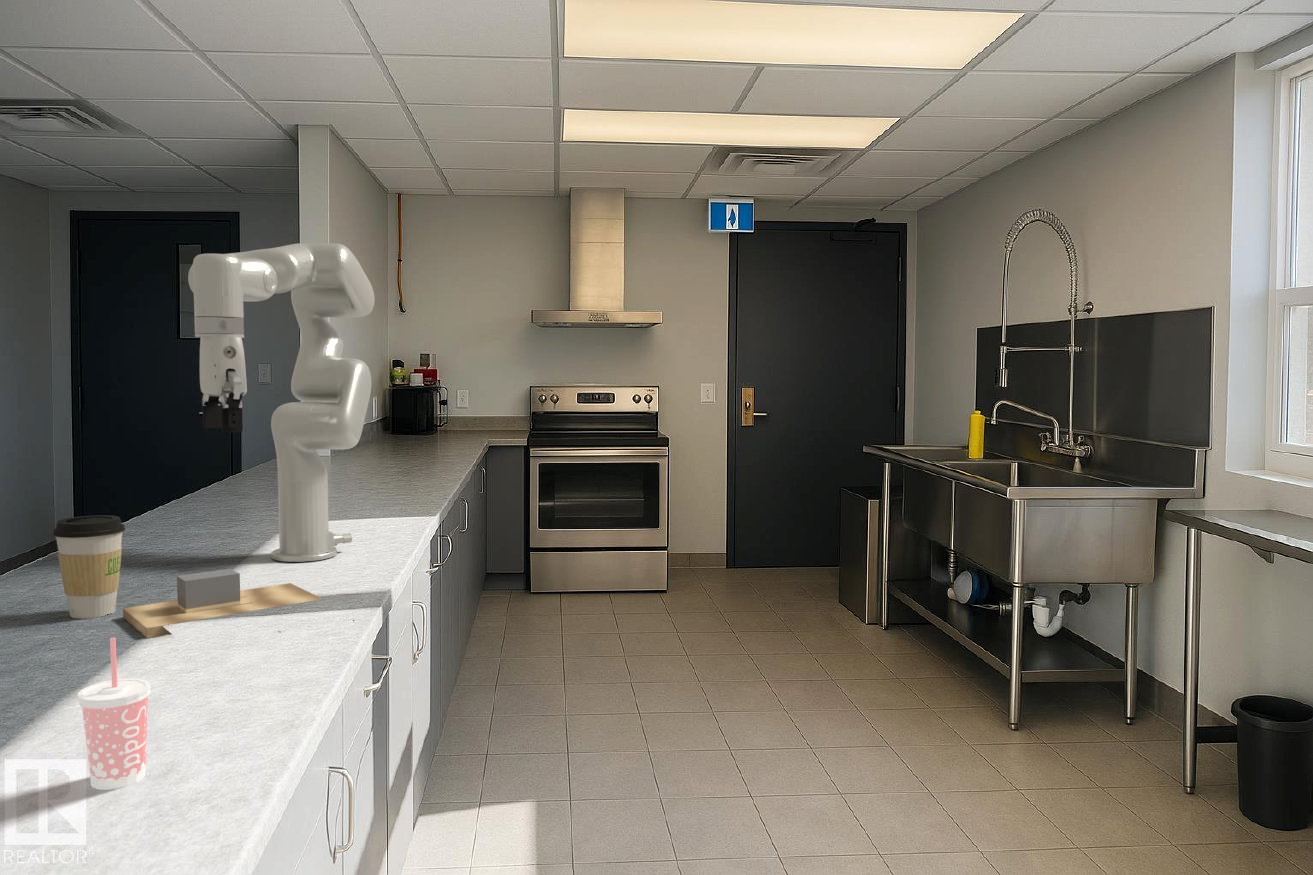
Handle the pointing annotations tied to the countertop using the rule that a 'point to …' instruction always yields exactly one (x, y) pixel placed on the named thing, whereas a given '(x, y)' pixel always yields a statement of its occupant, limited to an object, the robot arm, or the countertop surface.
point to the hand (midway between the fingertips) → (222, 430)
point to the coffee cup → (90, 563)
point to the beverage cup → (115, 728)
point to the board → (168, 613)
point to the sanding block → (208, 590)
